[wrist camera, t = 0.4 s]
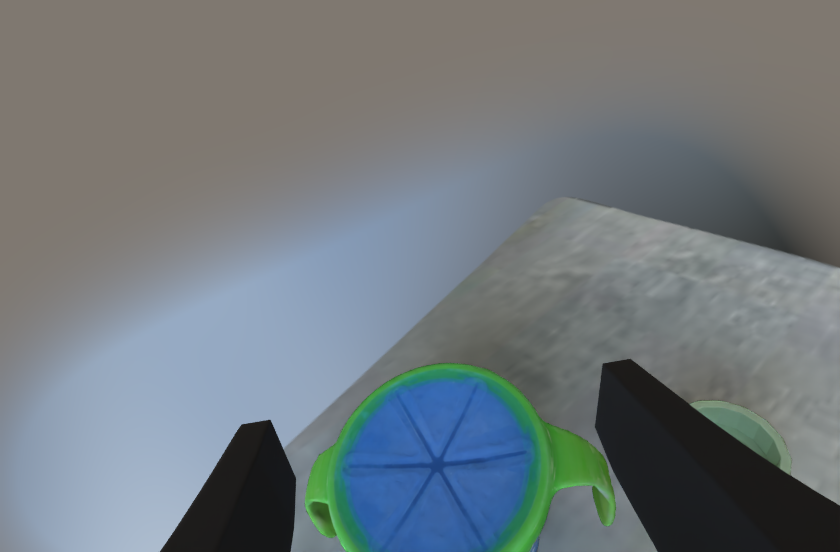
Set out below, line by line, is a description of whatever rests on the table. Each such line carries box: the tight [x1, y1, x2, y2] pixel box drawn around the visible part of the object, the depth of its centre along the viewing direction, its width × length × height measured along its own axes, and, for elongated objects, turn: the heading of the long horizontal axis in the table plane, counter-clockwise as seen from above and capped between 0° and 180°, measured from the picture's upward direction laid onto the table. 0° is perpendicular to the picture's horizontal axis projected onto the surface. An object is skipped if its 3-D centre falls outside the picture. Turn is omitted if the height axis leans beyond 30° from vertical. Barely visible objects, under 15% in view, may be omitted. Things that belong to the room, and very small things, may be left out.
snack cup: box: [305, 363, 616, 552], centre depth 25 cm, size 16×10×10 cm
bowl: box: [690, 400, 792, 475], centre depth 25 cm, size 6×6×4 cm
